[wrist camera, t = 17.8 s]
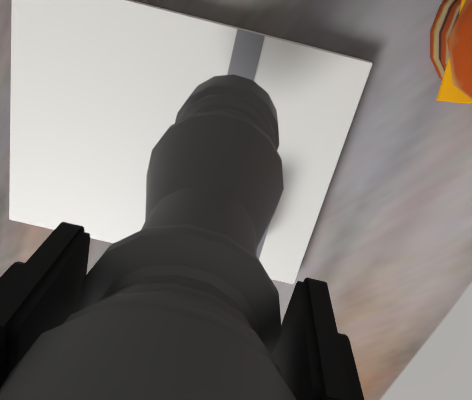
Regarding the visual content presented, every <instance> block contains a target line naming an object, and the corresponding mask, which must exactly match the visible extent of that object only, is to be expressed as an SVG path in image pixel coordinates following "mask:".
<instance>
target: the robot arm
mask: <svg viewBox="0 0 472 400" xmlns="http://www.w3.org/2000/svg"><path fill="white" fill-rule="evenodd" d="M89 245H90V233H86V232H84V227H83V226H80V225H75V224H71V223H67V222H61V223H60V224H59V225H58V227H57V228H56V229H55V230H54V231H53V232H52V233H51V234H50V236H49V237H48V238H47V239H46V240H45V241H44V242H43V244H42V245H41V246H40V247H39V248H38V249H37V250H36V252H35V253H34V254H33V255H32V256H31V257H30V258H29V260H28V261H27V262H26V263H23V262H15V263H14V264H13V265H11V266H10V268H9V269H8V270H7V271H6V272H5V273H4V274H3V275H2V276H1V277H0V388H1V386H2V385H3V383H4V382H5V380H6V379H7V377H8V376H9V374H10V373H11V371H12V370H13V368H14V367H15V366H16V364H17V363H18V362H19V361H20V360H21V358H22V357H23V356H24V355H25V353H26V352H27V351H28V350H29V348H30V347H31V346H32V345H33V344H34V342H35V341H36V340H37V339H38V337H39V336H40V335H41V334H42V333H44V332H46V331H49V330H51V329H53V328H55V327H58V326H60V325H62V324H63V323H64V322H65V321H66V319H67V318H68V317H69V316H70V315H71V314H73V313H75V312H77V311H78V310H79V304H80V299H81V293H82V287H83V282H84V278H85V277H86V273H87V264H88V254H89ZM281 332H282V333H281V335H280V338H279V340H278V342H277V344H276V347H275V349H274V351H273V353H272V358H273V359H274V361H275V362H276V364H277V365H278V367H279V368H280V370H281V377H282V378H283V380H284V381H285V383H286V384H287V386H288V387H289V389H290V390H291V392H292V393H293V395H294V396H295V398H296V399H297V400H364V397H363V393H362V389H361V385H360V381H359V377H358V373H357V369H356V365H355V361H354V357H353V353H352V349H351V345H350V341H349V338H348V337H347V336H346V335H344V334H340V333H338V332H337V327H336V322H335V318H334V313H333V309H332V304H331V300H330V295H329V291H328V286H327V283H326V282H324V281H319V280H315V279H311V278H305V280H304V282H300V281H298V282H297V283H296V286H295V288H294V291H293V294H292V297H291V300H290V302H289V305H288V308H287V311H286V313H285V316H284V319H283V322H282V325H281Z"/></svg>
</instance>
